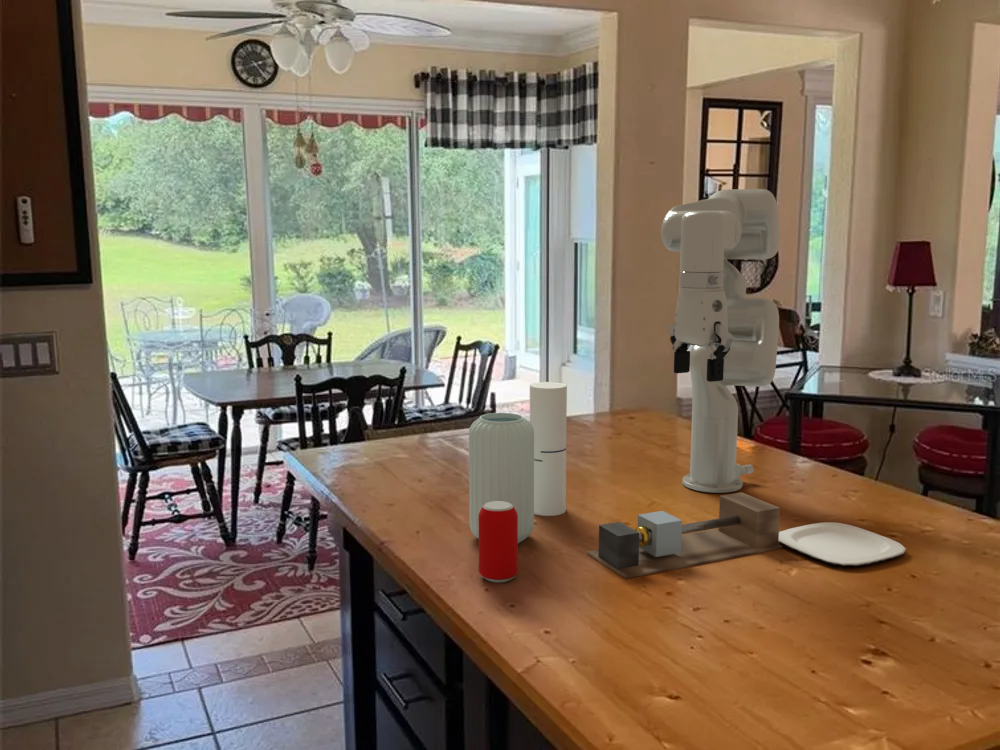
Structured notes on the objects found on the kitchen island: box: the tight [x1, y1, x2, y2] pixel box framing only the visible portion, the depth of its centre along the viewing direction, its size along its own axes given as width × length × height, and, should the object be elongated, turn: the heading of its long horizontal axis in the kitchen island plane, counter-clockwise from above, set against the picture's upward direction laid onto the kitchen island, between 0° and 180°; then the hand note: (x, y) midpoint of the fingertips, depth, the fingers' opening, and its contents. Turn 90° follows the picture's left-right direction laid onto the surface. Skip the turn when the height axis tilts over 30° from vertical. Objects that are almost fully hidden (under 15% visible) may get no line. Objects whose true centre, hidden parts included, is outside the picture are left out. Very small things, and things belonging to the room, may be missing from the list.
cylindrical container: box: [529, 381, 568, 517], centre depth 174 cm, size 7×7×25 cm
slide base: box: [586, 492, 783, 579], centre depth 153 cm, size 32×12×7 cm, turn 115°
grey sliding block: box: [637, 510, 683, 557], centre depth 151 cm, size 5×6×6 cm
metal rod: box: [634, 515, 740, 547], centre depth 152 cm, size 26×3×3 cm, turn 115°
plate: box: [778, 521, 907, 567], centre depth 155 cm, size 18×18×2 cm
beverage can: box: [478, 501, 519, 584], centre depth 141 cm, size 6×6×12 cm
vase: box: [468, 412, 535, 544], centre depth 158 cm, size 12×12×22 cm
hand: (697, 376), depth 162 cm, fingers open, 9 cm apart
